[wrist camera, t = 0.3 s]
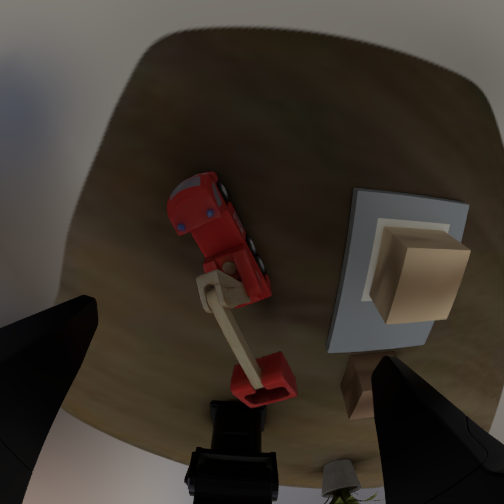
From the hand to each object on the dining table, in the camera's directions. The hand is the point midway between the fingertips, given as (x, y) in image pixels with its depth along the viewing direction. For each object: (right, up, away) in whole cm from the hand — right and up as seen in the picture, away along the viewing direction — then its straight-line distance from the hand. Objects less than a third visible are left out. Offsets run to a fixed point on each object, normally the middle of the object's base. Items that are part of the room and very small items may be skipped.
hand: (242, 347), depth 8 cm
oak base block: (+13, +2, +13) cm, 18 cm away
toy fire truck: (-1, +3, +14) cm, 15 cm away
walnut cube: (+13, -10, +20) cm, 25 cm away
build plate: (+13, 0, +15) cm, 20 cm away
